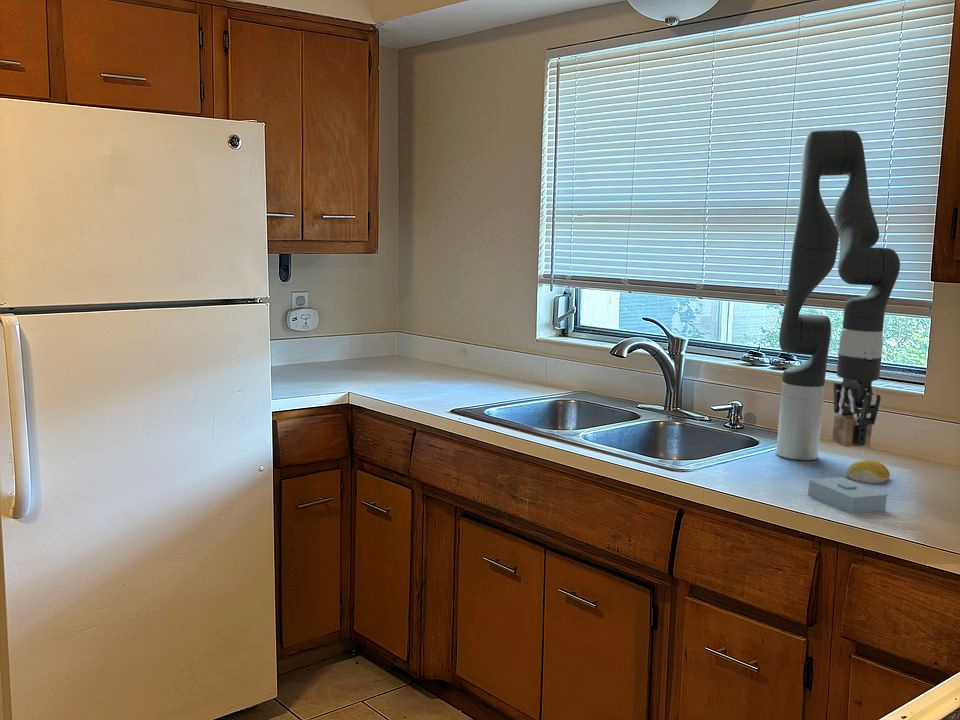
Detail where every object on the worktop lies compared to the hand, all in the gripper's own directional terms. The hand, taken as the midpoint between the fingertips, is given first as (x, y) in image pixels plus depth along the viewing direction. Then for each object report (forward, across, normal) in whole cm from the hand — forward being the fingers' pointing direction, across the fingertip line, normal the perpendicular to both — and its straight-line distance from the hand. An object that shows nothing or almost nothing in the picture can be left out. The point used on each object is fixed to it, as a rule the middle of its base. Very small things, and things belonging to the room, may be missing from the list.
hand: (851, 441), depth 171 cm
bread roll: (+13, -18, +14) cm, 26 cm away
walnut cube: (0, 0, 0) cm, 0 cm away
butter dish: (+13, 0, 0) cm, 13 cm away
